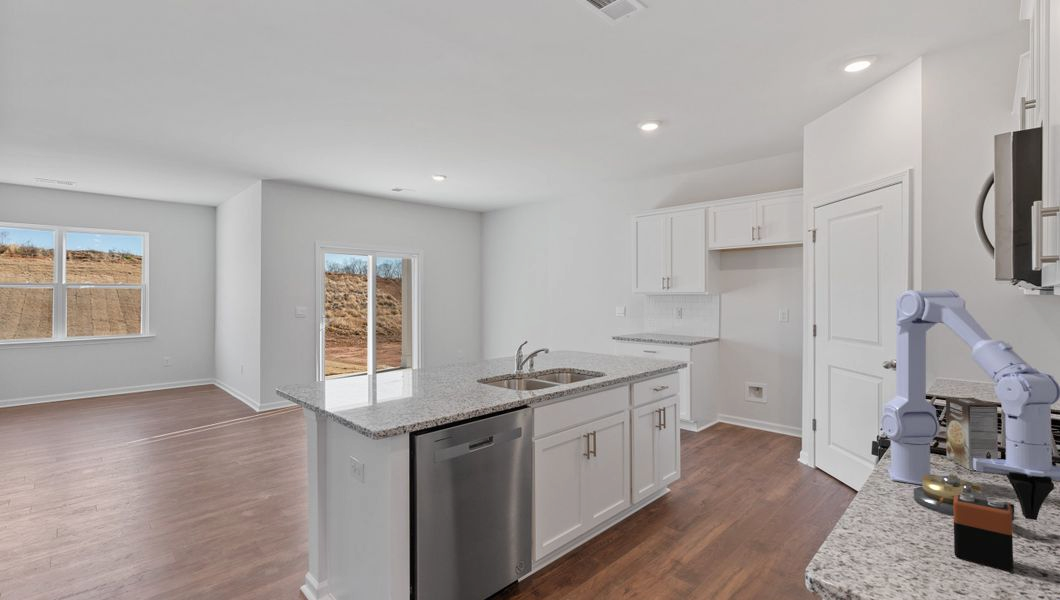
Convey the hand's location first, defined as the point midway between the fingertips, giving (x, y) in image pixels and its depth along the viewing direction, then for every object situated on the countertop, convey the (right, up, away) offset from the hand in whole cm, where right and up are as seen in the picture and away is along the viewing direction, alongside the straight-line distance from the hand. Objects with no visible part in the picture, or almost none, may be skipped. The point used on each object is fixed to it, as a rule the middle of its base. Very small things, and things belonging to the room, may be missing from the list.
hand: (1029, 517), depth 87 cm
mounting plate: (-4, -3, +12) cm, 13 cm away
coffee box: (+21, -3, +34) cm, 40 cm away
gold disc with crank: (-4, -1, +8) cm, 9 cm away
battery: (-16, -3, -9) cm, 19 cm away
